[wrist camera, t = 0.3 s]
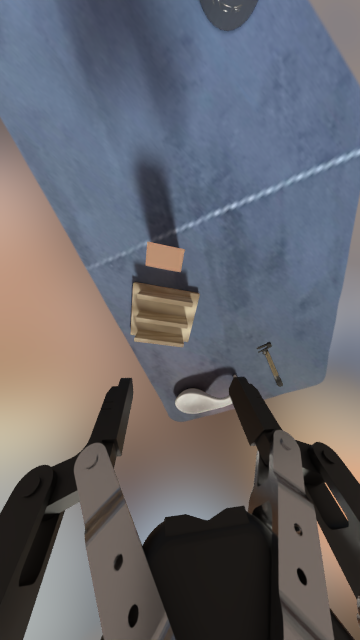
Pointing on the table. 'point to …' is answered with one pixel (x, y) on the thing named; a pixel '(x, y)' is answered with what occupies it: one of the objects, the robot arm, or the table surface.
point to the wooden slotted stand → (162, 314)
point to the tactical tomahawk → (271, 363)
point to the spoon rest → (199, 401)
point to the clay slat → (164, 257)
